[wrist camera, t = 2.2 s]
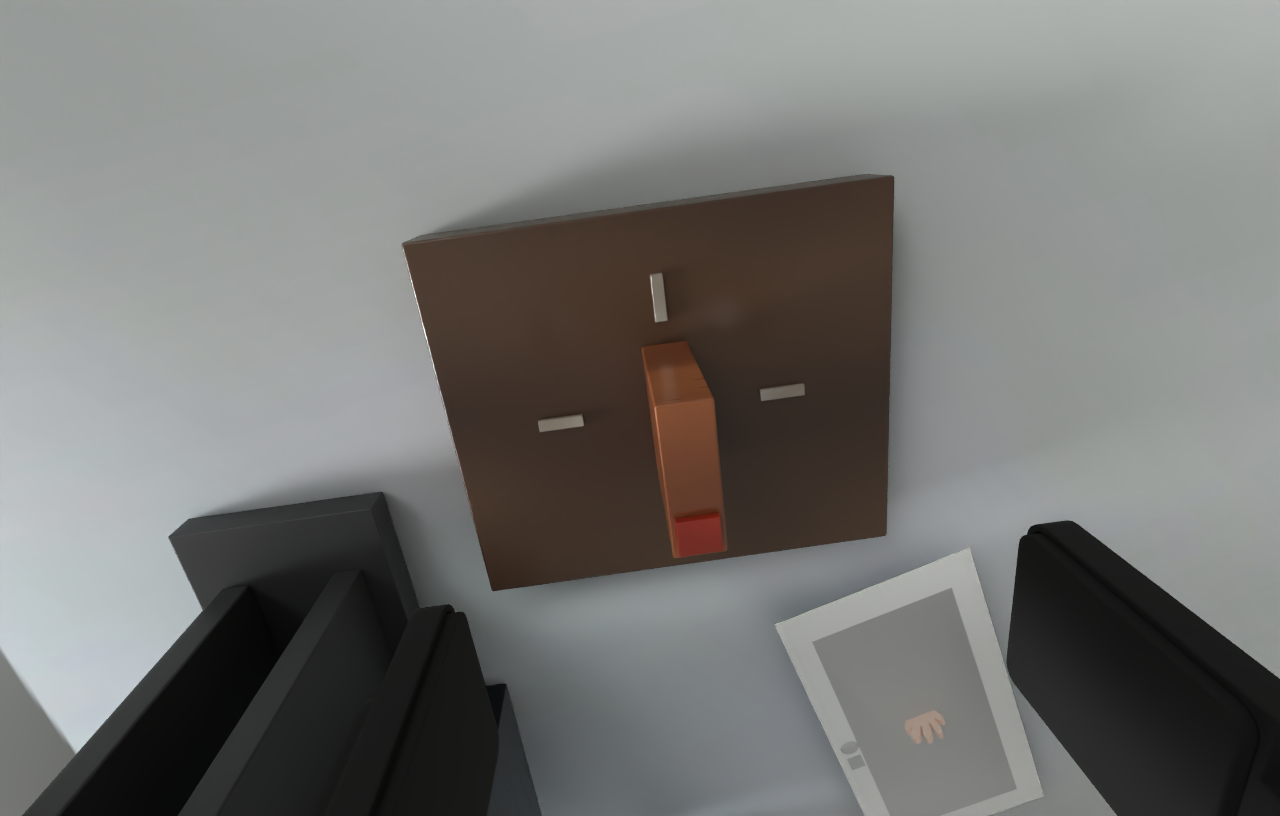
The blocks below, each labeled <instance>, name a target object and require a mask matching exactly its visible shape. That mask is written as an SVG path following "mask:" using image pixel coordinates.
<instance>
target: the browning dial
mask: <svg viewBox="0 0 1280 816" xmlns="http://www.w3.org/2000/svg"><path fill="white" fill-rule="evenodd" d="M893 212H894V176H892V175H875V174H863V175H855V176H848V177H841V178H833V179H826V180H819V181H812V182H804V183H797V184H790V185H783V186H775V187H768V188H761V189H754V190H746V191H739V192H732V193H724V194H717V195H710V196H703V197H695V198H688V199H681V200H674V201H666V202H659V203H652V204H645V205H637V206H630V207H623V208H616V209H608V210H601V211H594V212H586V213H579V214H572V215H565V216H557V217H550V218H543V219H536V220H528V221H521V222H514V223H507V224H499V225H492V226H485V227H477V228H470V229H463V230H456V231H448V232H441V233H434V234H427V235H421V236H418V237H416V238H413V239H411V240H409V241H406V242H404V243H402V249H403V253H404V257H405V261H406V264H407V268H408V272H409V276H410V280H411V284H412V287H413V291H414V295H415V299H416V303H417V306H418V310H419V314H420V318H421V322H422V326H423V329H424V333H425V337H426V341H427V345H428V348H429V352H430V356H431V360H432V364H433V367H434V371H435V375H436V379H437V383H438V387H439V390H440V394H441V398H442V402H443V406H444V409H445V413H446V417H447V421H448V425H449V429H450V432H451V436H452V440H453V444H454V448H455V451H456V455H457V459H458V463H459V467H460V470H461V474H462V478H463V482H464V486H465V490H466V493H467V497H468V501H469V505H470V509H471V512H472V516H473V520H474V524H475V528H476V532H477V535H478V539H479V543H480V547H481V551H482V554H483V558H484V562H485V566H486V570H487V574H488V577H489V581H490V585H491V589H492V591H498V590H505V589H512V588H519V587H527V586H534V585H541V584H548V583H555V582H562V581H569V580H576V579H583V578H590V577H597V576H604V575H612V574H619V573H626V572H633V571H640V570H647V569H654V568H661V567H668V566H675V565H682V564H689V563H697V562H704V561H711V560H718V559H725V558H732V557H739V556H746V555H753V554H760V553H767V552H774V551H782V550H789V549H796V548H803V547H810V546H817V545H824V544H831V543H838V542H845V541H852V540H860V539H867V538H874V537H881V536H886V533H887V487H888V441H889V395H890V350H891V304H892V258H893ZM681 341H687V342H688V345H689V347H690V349H691V351H692V353H693V355H694V357H695V360H696V362H697V364H698V366H699V368H700V370H701V372H702V374H703V377H704V379H705V381H706V383H707V385H708V387H709V389H710V391H711V394H712V396H713V398H714V401H715V412H716V423H717V434H718V446H719V457H720V468H721V479H722V490H723V502H724V513H725V524H726V535H727V546H728V549H727V551H724V552H717V553H709V554H702V555H695V556H688V557H681V558H674V557H673V553H672V548H671V542H670V536H669V531H668V525H667V520H666V514H665V509H664V503H663V498H662V492H661V487H660V481H659V475H658V470H657V463H656V455H655V448H654V440H653V432H652V425H651V417H650V410H649V402H648V394H647V387H646V379H645V371H644V364H643V356H642V347H645V346H652V345H659V344H666V343H673V342H681Z"/></svg>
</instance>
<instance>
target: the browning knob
mask: <svg viewBox="0 0 1280 816" xmlns="http://www.w3.org/2000/svg"><path fill="white" fill-rule="evenodd" d="M642 356H643V364H644V371H645V379H646V387H647V394H648V402H649V410H650V417H651V425H652V432H653V440H654V448H655V455H656V463H657V470H658V475H659V481H660V487H661V492H662V498H663V503H664V509H665V514H666V520H667V525H668V531H669V536H670V542H671V548H672V553H673V557H674V558H681V557H688V556H695V555H702V554H709V553H717V552H724V551H727V549H728V546H727V535H726V524H725V513H724V502H723V490H722V479H721V468H720V457H719V446H718V434H717V423H716V412H715V401H714V398H713V396H712V394H711V391H710V389H709V387H708V385H707V383H706V381H705V379H704V377H703V374H702V372H701V370H700V368H699V366H698V364H697V362H696V360H695V357H694V355H693V353H692V351H691V349H690V347H689V345H688V342H687V341H681V342H673V343H666V344H659V345H652V346H645V347H642Z"/></svg>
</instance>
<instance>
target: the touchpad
mask: <svg viewBox="0 0 1280 816" xmlns="http://www.w3.org/2000/svg"><path fill="white" fill-rule="evenodd" d="M775 627H776V630H777V632H778V634H779V636H780V638H781V640H782V642H783V644H784V646H785V649H786V651H787V653H788V655H789V657H790V659H791V661H792V663H793V665H794V668H795V670H796V672H797V674H798V676H799V678H800V680H801V682H802V685H803V687H804V689H805V691H806V693H807V695H808V697H809V699H810V701H811V704H812V706H813V708H814V710H815V712H816V714H817V716H818V718H819V720H820V723H821V725H822V727H823V729H824V731H825V733H826V735H827V737H828V740H829V742H830V744H831V746H832V748H833V750H834V752H835V754H836V756H837V759H838V761H839V763H840V765H841V767H842V769H843V771H844V773H845V775H846V778H847V780H848V782H849V784H850V786H851V788H852V790H853V792H854V795H855V797H856V799H857V801H858V803H859V805H860V807H861V809H862V811H863V814H864V816H990V815H992V814H995V813H998V812H1001V811H1004V810H1007V809H1010V808H1013V807H1015V806H1018V805H1021V804H1024V803H1027V802H1030V801H1033V800H1036V799H1038V798H1041V797H1044V794H1043V791H1042V787H1041V784H1040V781H1039V777H1038V774H1037V771H1036V767H1035V764H1034V761H1033V757H1032V754H1031V751H1030V747H1029V744H1028V741H1027V737H1026V734H1025V731H1024V727H1023V724H1022V721H1021V717H1020V714H1019V711H1018V707H1017V704H1016V701H1015V698H1014V694H1013V691H1012V688H1011V684H1010V681H1009V678H1008V674H1007V671H1006V668H1005V664H1004V661H1003V658H1002V654H1001V651H1000V648H999V644H998V641H997V638H996V634H995V631H994V628H993V624H992V621H991V618H990V614H989V611H988V608H987V604H986V601H985V598H984V594H983V591H982V588H981V585H980V581H979V578H978V575H977V571H976V568H975V565H974V561H973V558H972V555H971V551H970V548H967V549H965V550H962V551H960V552H957V553H954V554H952V555H949V556H947V557H944V558H942V559H939V560H937V561H934V562H932V563H929V564H927V565H924V566H922V567H919V568H917V569H914V570H911V571H909V572H906V573H904V574H901V575H899V576H896V577H894V578H891V579H889V580H886V581H884V582H881V583H879V584H876V585H874V586H871V587H869V588H866V589H863V590H861V591H858V592H856V593H853V594H851V595H848V596H846V597H843V598H841V599H838V600H836V601H833V602H831V603H828V604H826V605H823V606H820V607H818V608H815V609H813V610H810V611H808V612H805V613H803V614H800V615H798V616H795V617H793V618H790V619H788V620H785V621H783V622H780V623H777V624H775Z"/></svg>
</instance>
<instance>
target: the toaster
mask: <svg viewBox="0 0 1280 816" xmlns="http://www.w3.org/2000/svg"><path fill="white" fill-rule="evenodd" d="M486 689H487V693H488V696H489V700H490V703H491V707H492V710H493V714H494V717H495V721H496V724H497V728H498V734H499V753H498V759H497V764H496V770H495V775H494V780H493V786H492V791H491V797H490V802H489V807H488V813H487V816H542V815H541V811H540V808H539V804H538V800H537V796H536V793H535V789H534V785H533V782H532V778H531V774H530V771H529V767H528V763H527V759H526V756H525V752H524V748H523V745H522V741H521V737H520V734H519V730H518V726H517V722H516V719H515V715H514V711H513V708H512V704H511V700H510V697H509V693H508V689H507V685H506V684H500V685H493V686H486Z"/></svg>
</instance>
